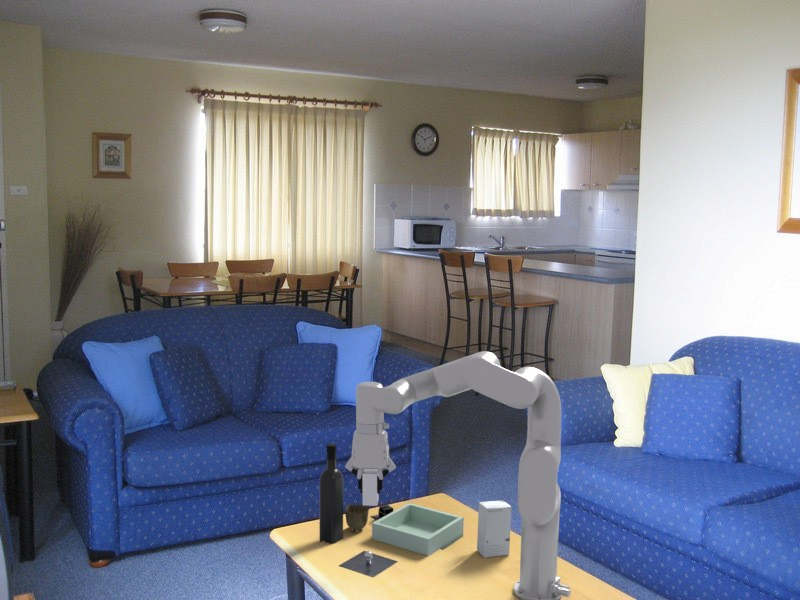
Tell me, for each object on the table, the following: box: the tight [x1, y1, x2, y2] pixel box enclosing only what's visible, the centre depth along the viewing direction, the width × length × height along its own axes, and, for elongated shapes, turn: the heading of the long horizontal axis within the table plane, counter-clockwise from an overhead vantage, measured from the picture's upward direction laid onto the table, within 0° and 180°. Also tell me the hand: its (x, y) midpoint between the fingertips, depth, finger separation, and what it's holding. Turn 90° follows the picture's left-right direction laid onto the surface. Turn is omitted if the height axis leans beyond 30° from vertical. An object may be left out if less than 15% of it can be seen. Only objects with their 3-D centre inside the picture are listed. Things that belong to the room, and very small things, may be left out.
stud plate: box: [338, 550, 399, 578], centre depth 230 cm, size 12×12×5 cm
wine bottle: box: [318, 443, 344, 544], centre depth 245 cm, size 6×6×30 cm
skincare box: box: [476, 500, 512, 559], centre depth 240 cm, size 8×6×15 cm
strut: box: [362, 469, 380, 507], centre depth 227 cm, size 4×4×9 cm
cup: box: [344, 503, 370, 533], centre depth 253 cm, size 8×7×8 cm
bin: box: [371, 502, 465, 557], centre depth 249 cm, size 20×20×6 cm
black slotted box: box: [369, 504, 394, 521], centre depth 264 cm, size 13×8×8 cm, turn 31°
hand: (370, 491), depth 227 cm, fingers closed on strut, 4 cm apart
